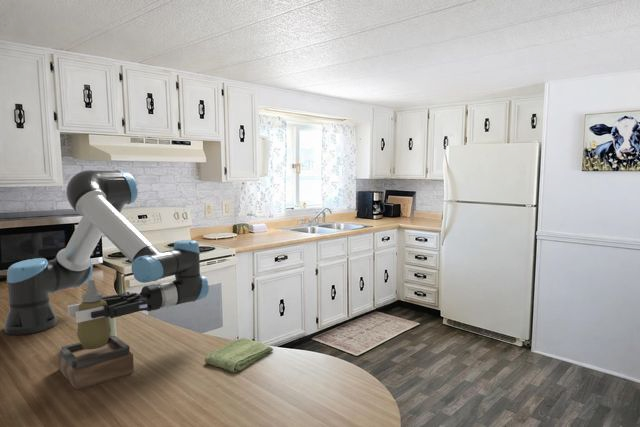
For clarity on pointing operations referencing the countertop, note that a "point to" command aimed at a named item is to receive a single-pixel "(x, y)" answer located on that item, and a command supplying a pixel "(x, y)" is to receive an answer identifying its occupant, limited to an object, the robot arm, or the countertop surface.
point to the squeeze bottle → (93, 321)
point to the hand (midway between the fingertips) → (72, 314)
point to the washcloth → (238, 354)
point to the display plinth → (95, 363)
